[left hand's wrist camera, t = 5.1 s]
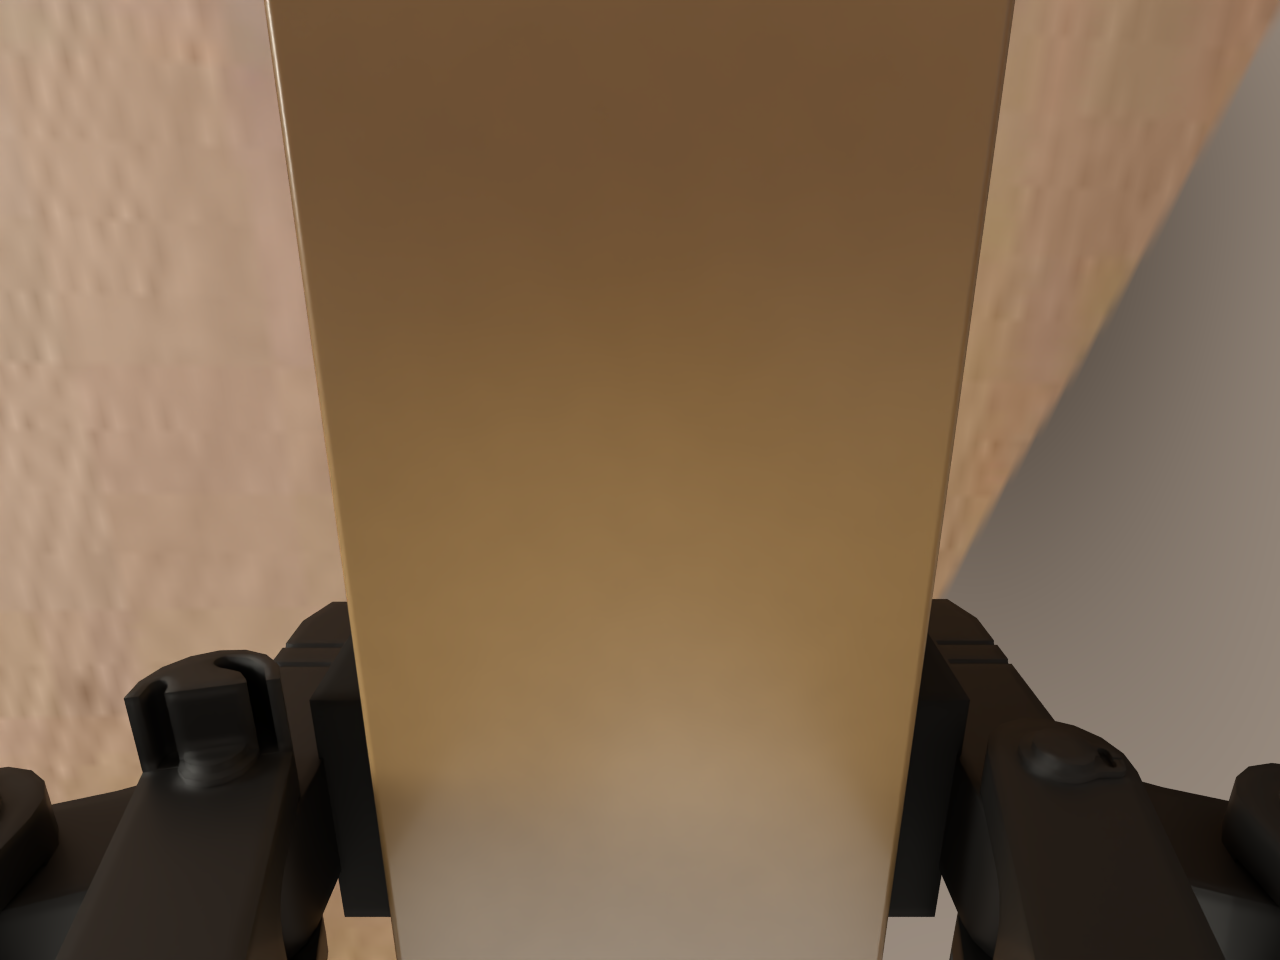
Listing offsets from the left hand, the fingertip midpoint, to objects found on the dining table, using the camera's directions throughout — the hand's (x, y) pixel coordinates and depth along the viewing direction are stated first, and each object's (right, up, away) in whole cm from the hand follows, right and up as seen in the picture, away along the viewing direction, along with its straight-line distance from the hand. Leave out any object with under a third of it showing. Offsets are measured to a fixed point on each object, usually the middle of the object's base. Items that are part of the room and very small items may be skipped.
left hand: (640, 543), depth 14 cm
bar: (0, +6, -2) cm, 7 cm away
